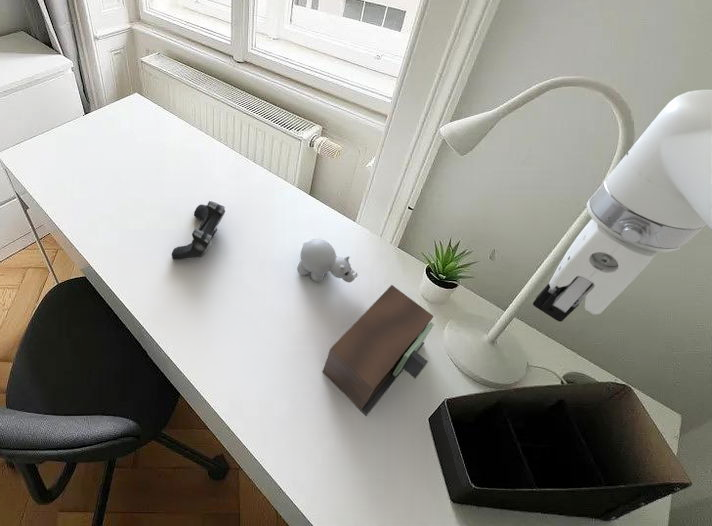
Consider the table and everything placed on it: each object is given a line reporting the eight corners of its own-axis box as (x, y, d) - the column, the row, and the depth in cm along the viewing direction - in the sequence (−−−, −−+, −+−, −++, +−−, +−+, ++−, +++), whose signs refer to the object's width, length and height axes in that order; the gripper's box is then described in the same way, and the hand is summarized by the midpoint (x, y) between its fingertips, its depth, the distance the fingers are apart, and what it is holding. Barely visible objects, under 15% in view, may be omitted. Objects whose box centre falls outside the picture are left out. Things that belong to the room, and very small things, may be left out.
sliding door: (433, 355, 73) (448, 335, 68) (408, 388, 69) (422, 369, 64) (417, 342, 74) (430, 322, 70) (392, 374, 70) (404, 354, 66)
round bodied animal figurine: (345, 303, 82) (353, 279, 76) (291, 273, 87) (296, 249, 82) (358, 277, 86) (367, 253, 81) (306, 250, 92) (311, 226, 86)
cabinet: (423, 344, 75) (439, 320, 69) (366, 416, 66) (379, 394, 61) (380, 310, 81) (391, 284, 75) (322, 371, 72) (330, 348, 66)
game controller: (193, 275, 91) (211, 257, 84) (167, 258, 90) (183, 239, 83) (218, 222, 102) (236, 202, 95) (195, 207, 102) (212, 186, 95)
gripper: (676, 281, 34) (561, 373, 46) (708, 196, 41) (602, 295, 53) (570, 228, 39) (490, 324, 50) (616, 160, 46) (537, 258, 57)
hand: (548, 309), depth 51 cm, fingers closed
